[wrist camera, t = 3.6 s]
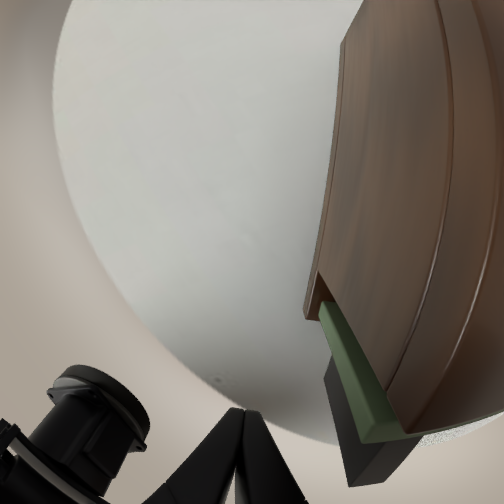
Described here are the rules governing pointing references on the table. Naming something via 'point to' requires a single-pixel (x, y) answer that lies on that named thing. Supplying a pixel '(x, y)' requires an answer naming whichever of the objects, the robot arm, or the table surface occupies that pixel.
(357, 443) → the sliding door
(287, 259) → the table surface
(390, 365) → the cupboard
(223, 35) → the table surface
